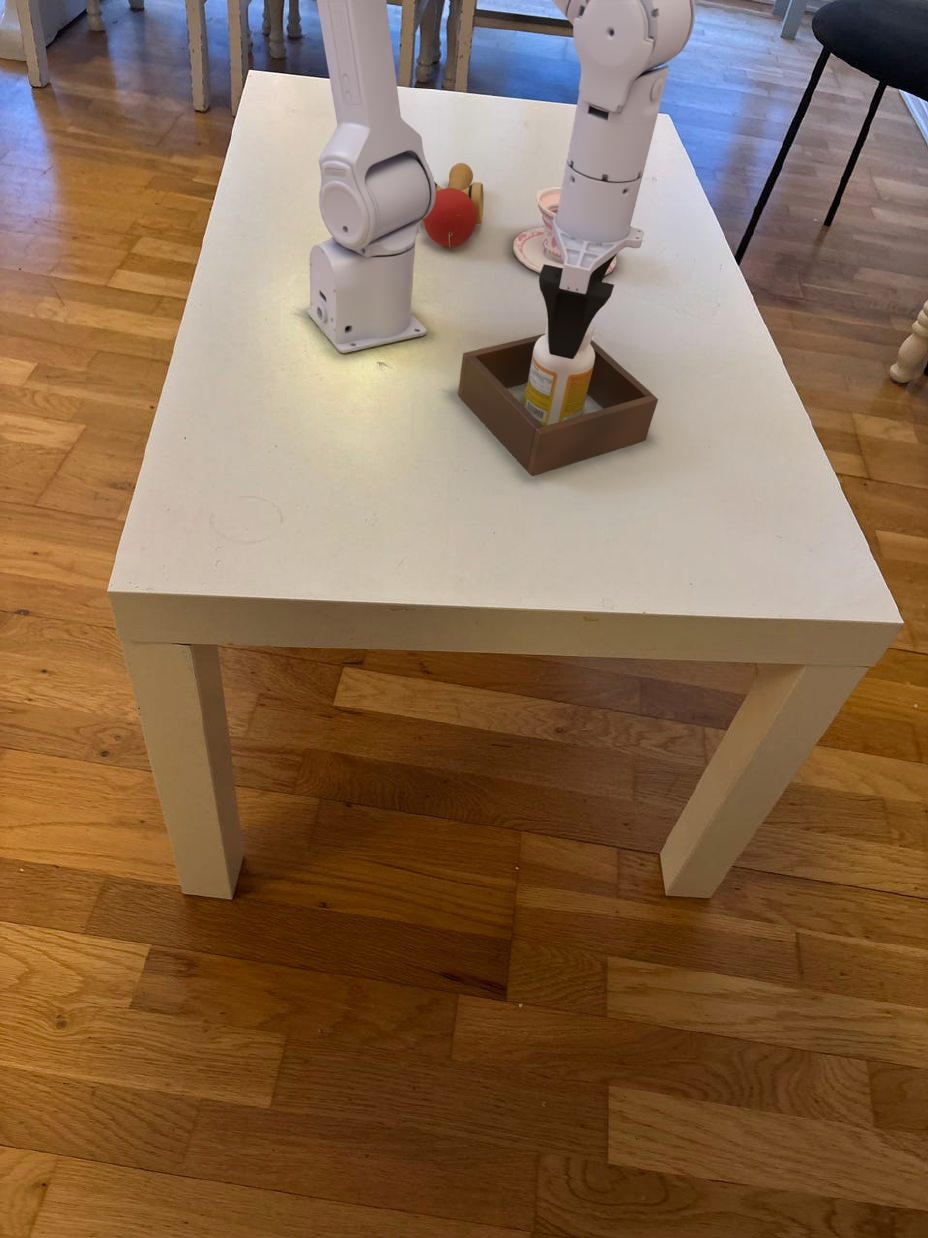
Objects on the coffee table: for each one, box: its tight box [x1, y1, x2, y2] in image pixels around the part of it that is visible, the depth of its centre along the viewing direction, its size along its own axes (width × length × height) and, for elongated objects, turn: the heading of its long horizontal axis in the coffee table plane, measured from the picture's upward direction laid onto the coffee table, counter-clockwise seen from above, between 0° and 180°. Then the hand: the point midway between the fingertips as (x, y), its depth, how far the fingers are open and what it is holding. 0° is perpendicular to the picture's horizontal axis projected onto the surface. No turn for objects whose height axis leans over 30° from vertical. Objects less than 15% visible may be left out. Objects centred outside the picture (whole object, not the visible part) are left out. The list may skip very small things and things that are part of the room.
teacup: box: [512, 186, 617, 276], centre depth 102 cm, size 12×12×6 cm
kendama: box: [421, 162, 485, 248], centre depth 106 cm, size 8×6×18 cm
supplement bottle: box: [522, 319, 595, 426], centre depth 80 cm, size 5×5×10 cm
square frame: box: [457, 333, 659, 476], centre depth 82 cm, size 13×13×4 cm
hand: (569, 331), depth 77 cm, fingers open, 7 cm apart
